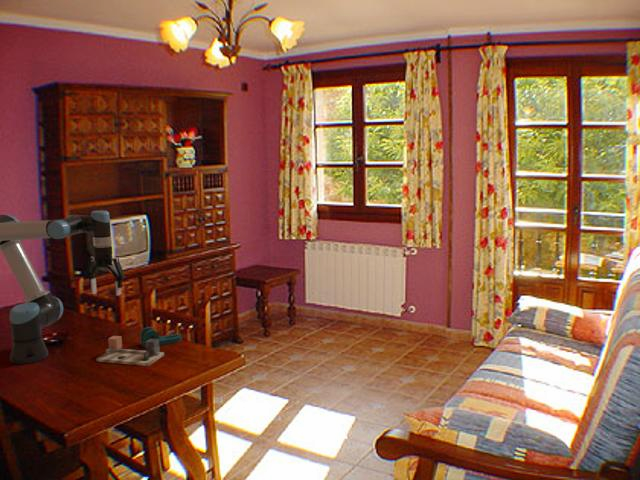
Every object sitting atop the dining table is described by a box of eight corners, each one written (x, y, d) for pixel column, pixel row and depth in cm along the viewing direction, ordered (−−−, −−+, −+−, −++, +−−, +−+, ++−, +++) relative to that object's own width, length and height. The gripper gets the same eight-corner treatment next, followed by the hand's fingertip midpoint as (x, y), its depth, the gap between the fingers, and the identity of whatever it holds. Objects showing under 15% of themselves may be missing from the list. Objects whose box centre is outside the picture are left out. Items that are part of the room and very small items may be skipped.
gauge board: (96, 361, 257) (95, 344, 256) (114, 350, 269) (112, 334, 268) (148, 366, 251) (147, 349, 249) (164, 355, 263) (163, 338, 262)
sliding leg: (102, 355, 259) (101, 342, 258) (114, 348, 268) (113, 335, 267) (110, 356, 258) (109, 343, 257) (122, 348, 267) (121, 336, 266)
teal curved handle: (144, 348, 272) (143, 332, 270) (141, 344, 277) (140, 328, 276) (183, 341, 281) (182, 325, 279) (179, 337, 286) (178, 321, 285)
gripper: (73, 246, 261) (77, 294, 265) (122, 248, 255) (125, 297, 259) (84, 243, 268) (88, 290, 272) (131, 245, 262) (135, 293, 266)
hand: (106, 294), depth 266 cm, fingers open, 12 cm apart
